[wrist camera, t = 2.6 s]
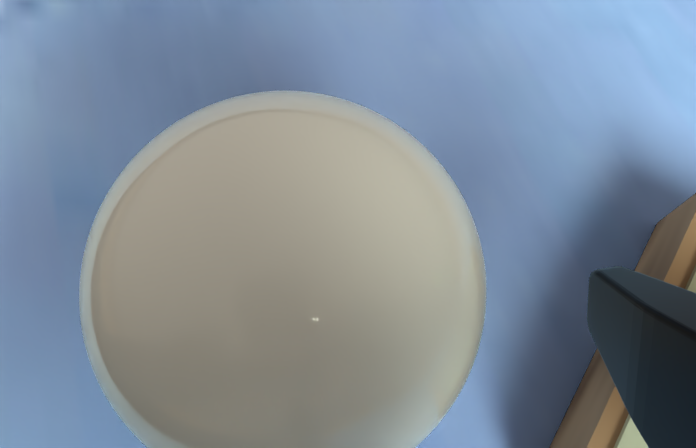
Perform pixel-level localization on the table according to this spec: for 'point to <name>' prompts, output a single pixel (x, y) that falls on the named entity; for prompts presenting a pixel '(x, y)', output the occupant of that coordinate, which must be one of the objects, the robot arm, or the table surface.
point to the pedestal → (597, 385)
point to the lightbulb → (282, 281)
